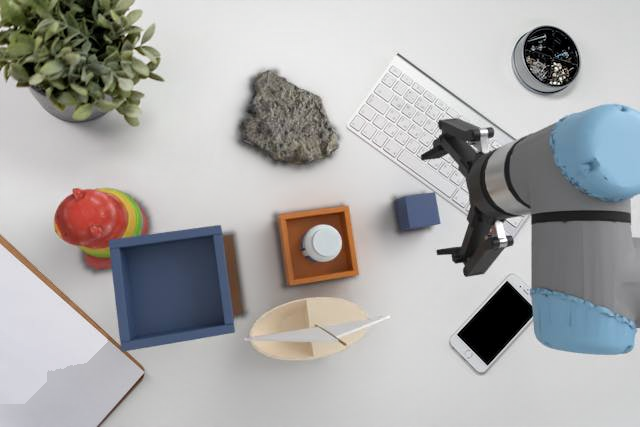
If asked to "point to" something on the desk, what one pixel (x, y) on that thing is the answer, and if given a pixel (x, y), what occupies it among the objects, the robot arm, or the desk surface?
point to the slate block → (417, 211)
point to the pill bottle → (320, 243)
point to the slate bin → (174, 286)
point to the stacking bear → (98, 222)
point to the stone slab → (288, 122)
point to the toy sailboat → (309, 328)
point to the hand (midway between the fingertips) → (437, 203)
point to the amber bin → (307, 271)
